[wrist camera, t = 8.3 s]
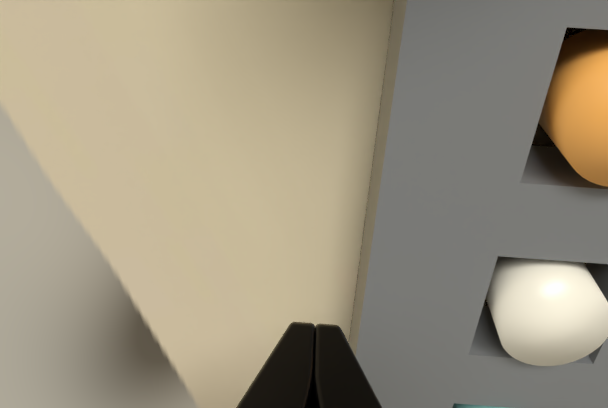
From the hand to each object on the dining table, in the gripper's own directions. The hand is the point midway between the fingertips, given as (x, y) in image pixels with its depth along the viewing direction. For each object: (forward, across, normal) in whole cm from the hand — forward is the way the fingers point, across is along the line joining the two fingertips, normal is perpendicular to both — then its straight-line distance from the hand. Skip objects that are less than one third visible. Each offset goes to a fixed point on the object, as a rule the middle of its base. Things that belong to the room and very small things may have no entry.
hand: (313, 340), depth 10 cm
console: (+12, -9, +7) cm, 17 cm away
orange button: (+12, -9, -1) cm, 15 cm away
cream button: (+12, -9, +7) cm, 16 cm away
